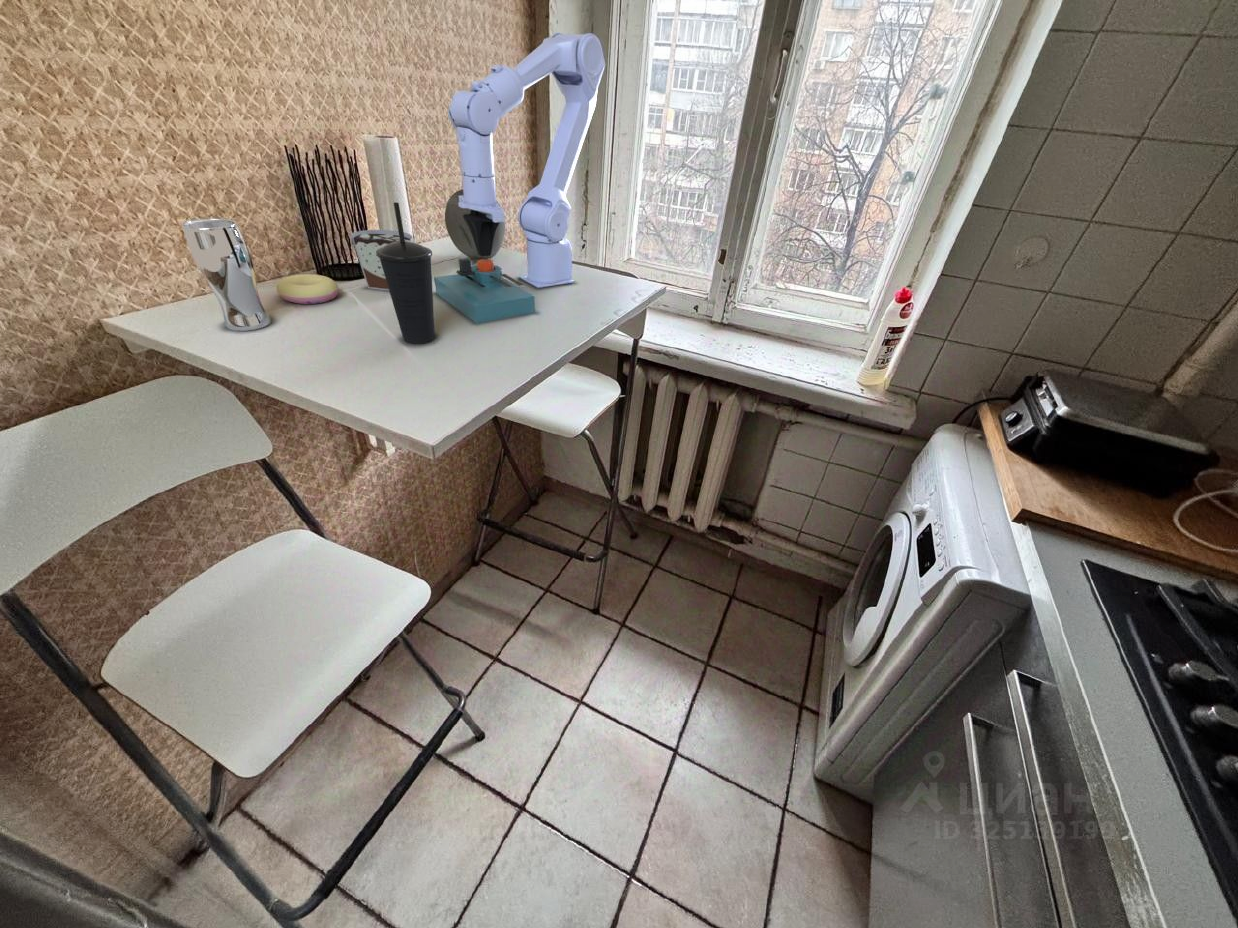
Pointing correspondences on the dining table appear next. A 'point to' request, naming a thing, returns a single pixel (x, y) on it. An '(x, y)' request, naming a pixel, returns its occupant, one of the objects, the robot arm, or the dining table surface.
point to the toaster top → (497, 280)
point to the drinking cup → (410, 285)
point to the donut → (307, 288)
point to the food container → (374, 253)
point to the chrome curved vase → (227, 271)
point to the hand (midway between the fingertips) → (484, 255)
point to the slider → (465, 267)
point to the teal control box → (484, 296)
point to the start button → (485, 265)
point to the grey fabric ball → (467, 229)
